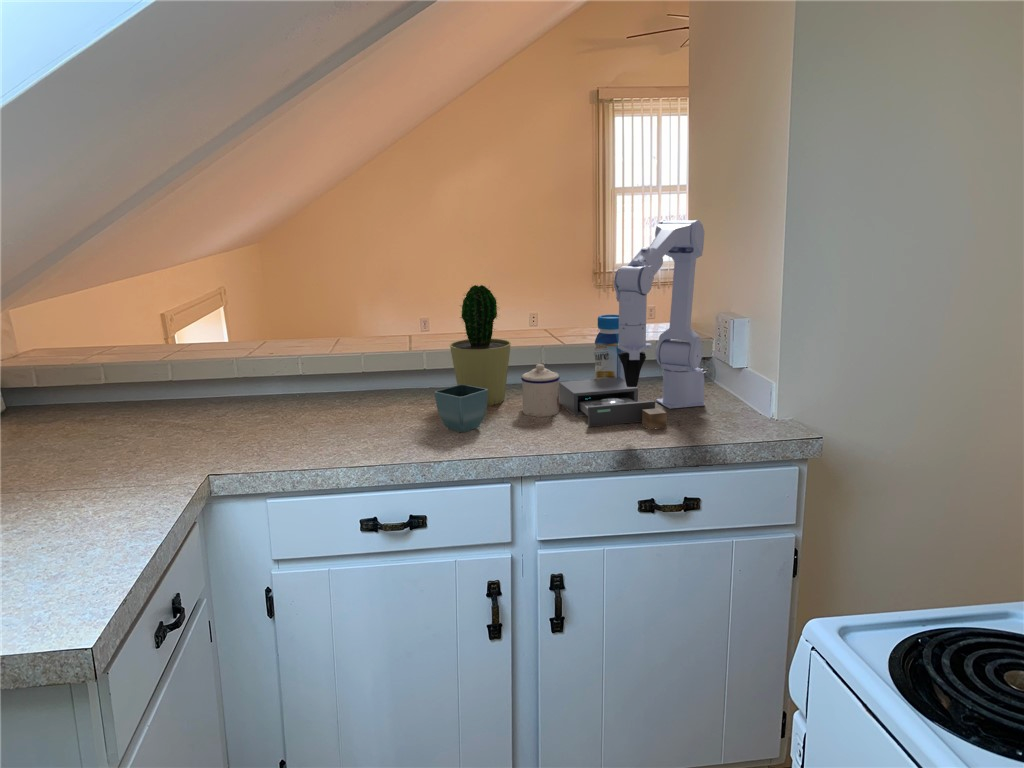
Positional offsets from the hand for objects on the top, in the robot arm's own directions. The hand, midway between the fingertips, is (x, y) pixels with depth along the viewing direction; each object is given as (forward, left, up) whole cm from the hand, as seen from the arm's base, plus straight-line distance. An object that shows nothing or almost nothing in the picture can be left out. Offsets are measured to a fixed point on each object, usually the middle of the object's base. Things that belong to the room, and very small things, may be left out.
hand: (631, 386), depth 159 cm
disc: (0, -12, -8) cm, 14 cm away
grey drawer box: (0, -21, -10) cm, 23 cm away
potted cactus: (+26, -36, -10) cm, 45 cm away
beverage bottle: (-8, -34, -10) cm, 36 cm away
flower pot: (+35, -13, -10) cm, 39 cm away
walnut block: (-6, -1, -10) cm, 12 cm away
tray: (0, -12, -10) cm, 15 cm away
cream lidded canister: (+15, -22, -10) cm, 28 cm away
